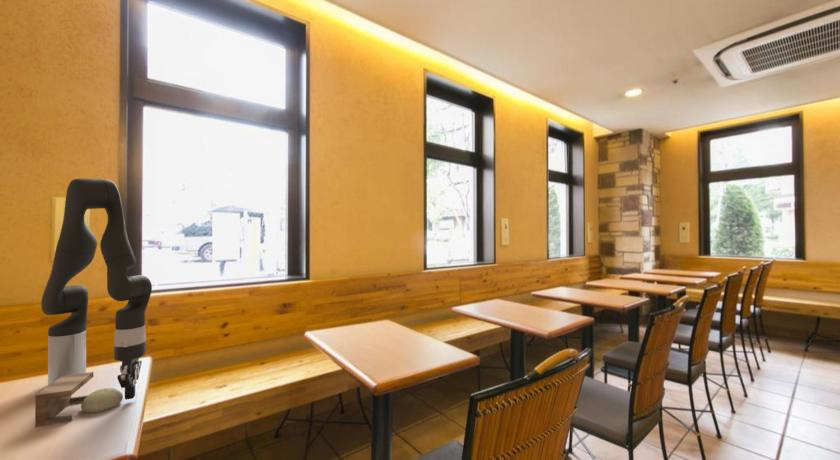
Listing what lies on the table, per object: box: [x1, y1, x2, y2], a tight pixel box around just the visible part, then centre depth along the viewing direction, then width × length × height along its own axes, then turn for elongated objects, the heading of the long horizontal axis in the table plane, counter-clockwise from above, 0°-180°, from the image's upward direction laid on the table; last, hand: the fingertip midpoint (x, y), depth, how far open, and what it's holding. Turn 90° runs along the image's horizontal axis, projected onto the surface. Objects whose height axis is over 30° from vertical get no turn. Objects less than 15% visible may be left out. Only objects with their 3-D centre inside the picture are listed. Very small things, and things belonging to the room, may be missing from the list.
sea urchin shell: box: [80, 387, 124, 413], centre depth 104 cm, size 9×8×8 cm
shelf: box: [34, 371, 94, 428], centre depth 101 cm, size 14×7×8 cm, turn 24°
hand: (130, 398), depth 107 cm, fingers closed
